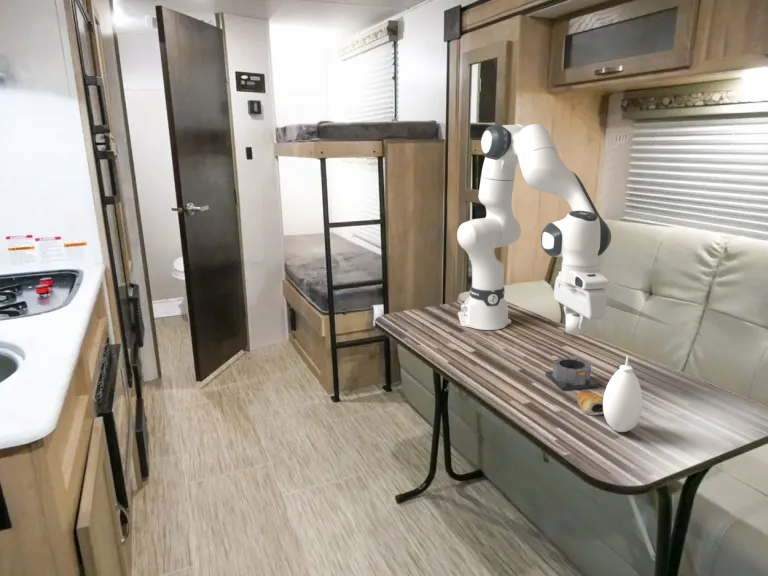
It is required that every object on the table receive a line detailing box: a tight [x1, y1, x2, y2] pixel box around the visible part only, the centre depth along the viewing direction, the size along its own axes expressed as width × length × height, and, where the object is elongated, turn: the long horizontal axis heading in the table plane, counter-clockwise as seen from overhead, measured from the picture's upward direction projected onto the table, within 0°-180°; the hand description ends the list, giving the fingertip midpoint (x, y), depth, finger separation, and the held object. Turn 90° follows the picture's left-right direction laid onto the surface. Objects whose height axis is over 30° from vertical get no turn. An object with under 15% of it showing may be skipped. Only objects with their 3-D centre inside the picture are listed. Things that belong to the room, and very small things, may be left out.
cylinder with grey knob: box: [564, 312, 586, 336], centre depth 138 cm, size 5×5×5 cm
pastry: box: [576, 391, 604, 416], centre depth 127 cm, size 9×7×4 cm
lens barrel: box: [545, 356, 599, 391], centre depth 141 cm, size 10×10×5 cm
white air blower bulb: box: [603, 355, 644, 433], centre depth 114 cm, size 8×8×18 cm
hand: (575, 325), depth 138 cm, fingers closed on cylinder with grey knob, 5 cm apart
